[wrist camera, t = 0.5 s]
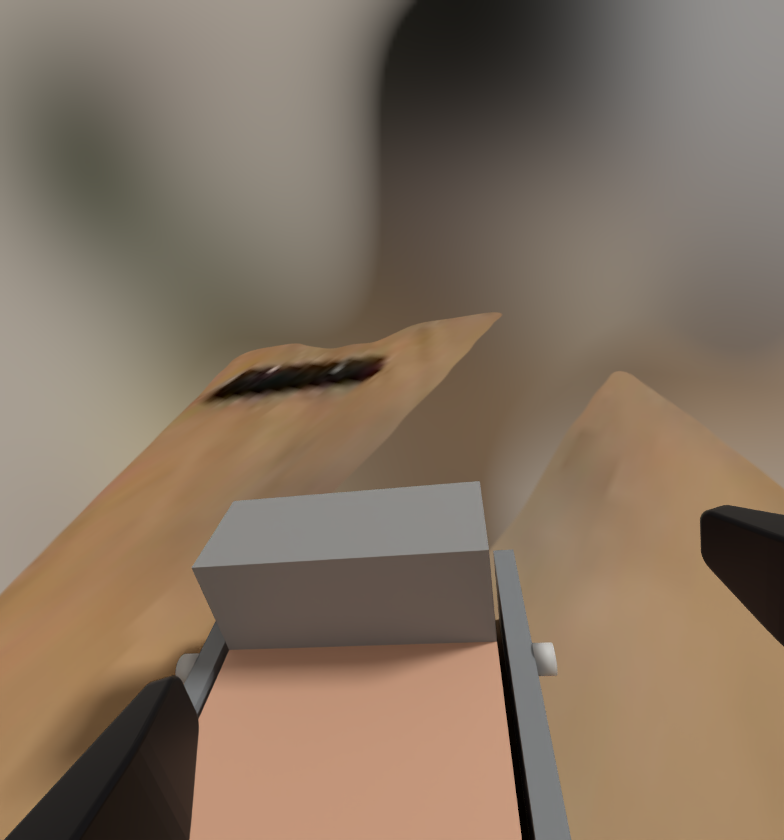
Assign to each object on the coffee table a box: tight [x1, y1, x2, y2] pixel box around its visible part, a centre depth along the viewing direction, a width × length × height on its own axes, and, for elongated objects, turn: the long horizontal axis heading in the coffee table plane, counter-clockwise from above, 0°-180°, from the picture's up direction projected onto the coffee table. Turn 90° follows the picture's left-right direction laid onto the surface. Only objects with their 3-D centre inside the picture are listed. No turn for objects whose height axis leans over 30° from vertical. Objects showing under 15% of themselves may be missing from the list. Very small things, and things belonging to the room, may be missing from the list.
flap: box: [190, 481, 522, 840], centre depth 16 cm, size 19×12×10 cm, turn 175°
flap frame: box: [176, 550, 571, 840], centre depth 17 cm, size 21×16×5 cm
